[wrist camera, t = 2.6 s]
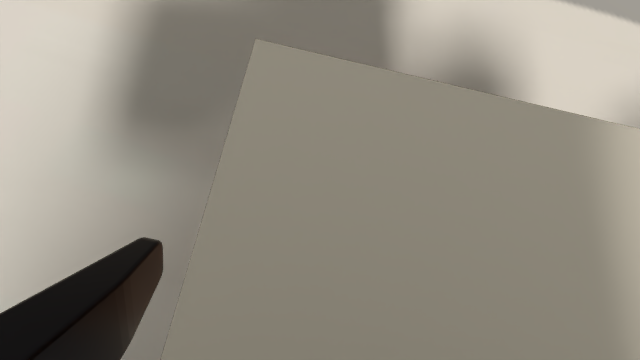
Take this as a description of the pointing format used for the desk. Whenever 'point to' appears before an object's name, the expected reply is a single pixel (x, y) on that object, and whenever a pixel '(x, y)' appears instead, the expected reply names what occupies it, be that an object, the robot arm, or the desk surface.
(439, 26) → the desk surface
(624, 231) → the peach block
